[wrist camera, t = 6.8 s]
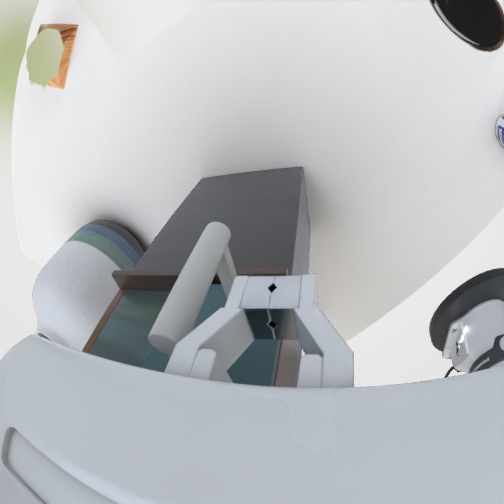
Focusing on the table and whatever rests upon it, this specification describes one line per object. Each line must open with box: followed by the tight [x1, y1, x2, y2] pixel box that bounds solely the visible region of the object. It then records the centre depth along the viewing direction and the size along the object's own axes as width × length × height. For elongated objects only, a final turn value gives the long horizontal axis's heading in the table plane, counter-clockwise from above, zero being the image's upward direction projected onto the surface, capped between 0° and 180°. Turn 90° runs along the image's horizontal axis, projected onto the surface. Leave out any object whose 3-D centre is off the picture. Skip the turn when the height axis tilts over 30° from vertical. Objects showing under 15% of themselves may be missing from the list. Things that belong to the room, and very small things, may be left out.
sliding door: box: [141, 222, 281, 386], centre depth 12 cm, size 6×7×12 cm
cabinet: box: [82, 167, 310, 388], centre depth 25 cm, size 12×14×35 cm
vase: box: [32, 220, 145, 351], centre depth 41 cm, size 17×17×24 cm
